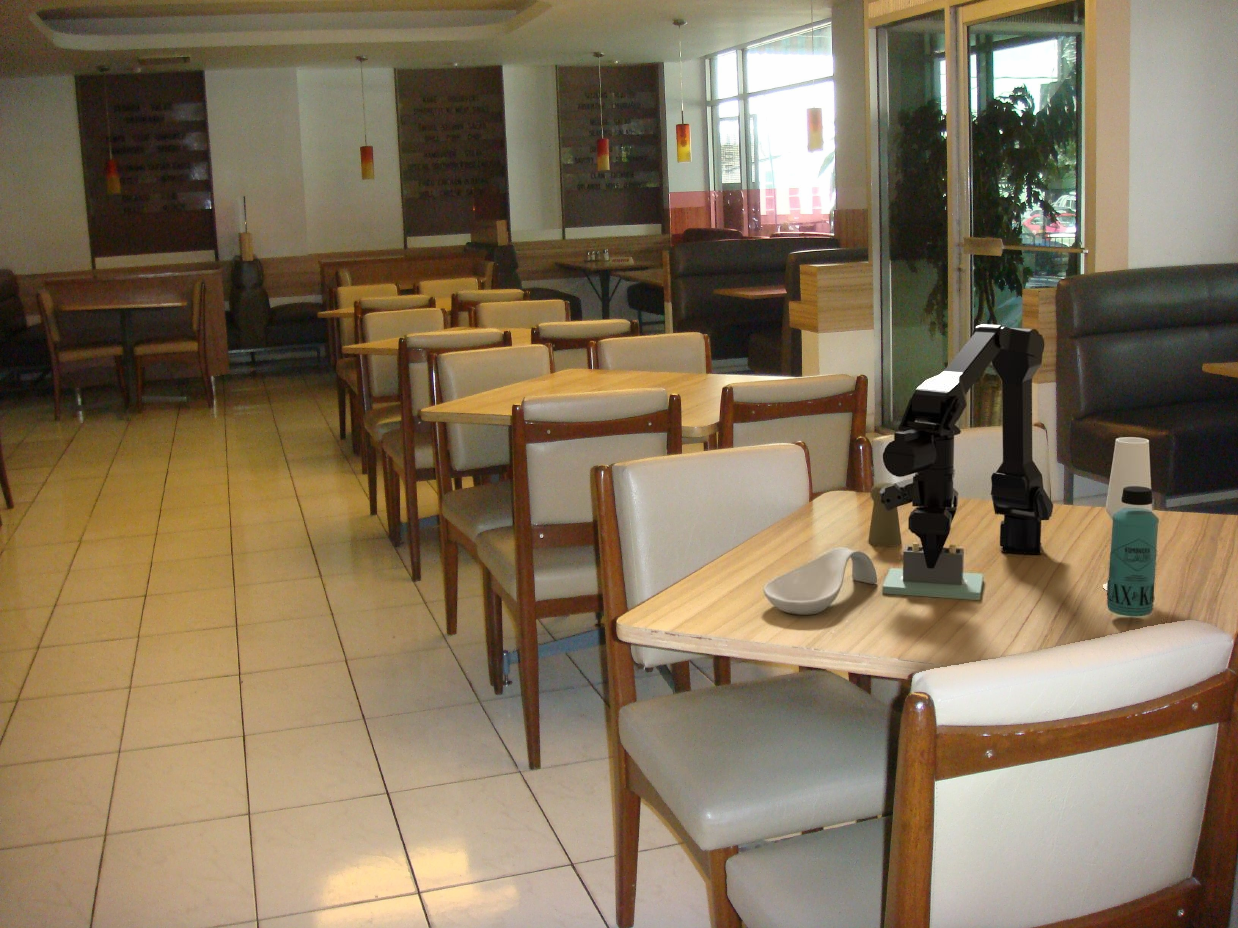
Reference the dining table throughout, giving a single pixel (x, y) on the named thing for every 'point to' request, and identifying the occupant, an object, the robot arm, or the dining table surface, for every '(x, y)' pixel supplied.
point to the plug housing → (943, 572)
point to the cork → (883, 521)
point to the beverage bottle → (1133, 555)
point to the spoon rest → (818, 581)
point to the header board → (934, 584)
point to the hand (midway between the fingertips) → (933, 559)
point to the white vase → (1128, 473)
